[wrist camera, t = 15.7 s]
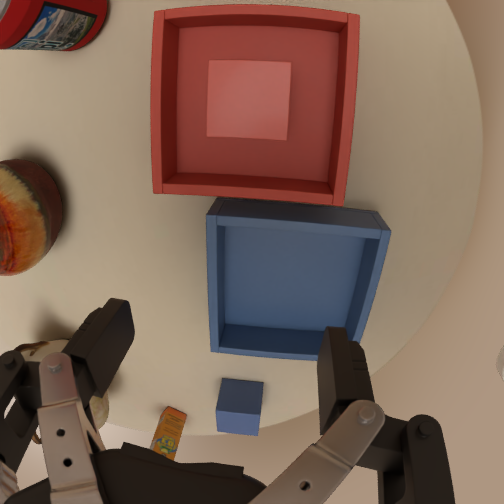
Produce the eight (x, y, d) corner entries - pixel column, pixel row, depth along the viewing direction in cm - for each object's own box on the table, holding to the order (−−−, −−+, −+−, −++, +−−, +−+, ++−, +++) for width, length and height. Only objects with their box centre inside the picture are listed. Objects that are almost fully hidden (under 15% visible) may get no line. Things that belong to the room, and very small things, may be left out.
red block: (290, 69, 20) (292, 61, 16) (286, 133, 23) (287, 141, 18) (222, 67, 21) (207, 59, 16) (220, 129, 23) (205, 137, 19)
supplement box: (188, 414, 41) (172, 471, 33) (180, 422, 43) (164, 476, 34) (168, 404, 41) (149, 461, 32) (160, 413, 42) (142, 467, 33)
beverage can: (53, 60, 21) (-45, 65, 10) (55, 0, 18) (-35, -15, 7) (111, 41, 20) (13, 27, 10) (113, -22, 17) (27, -61, 7)
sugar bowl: (142, 409, 43) (111, 490, 29) (68, 393, 44) (33, 459, 31) (95, 309, 34) (30, 405, 20) (17, 302, 35) (-43, 370, 22)
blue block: (263, 382, 36) (260, 415, 32) (260, 405, 39) (257, 436, 34) (222, 378, 37) (215, 410, 32) (223, 401, 39) (217, 431, 34)
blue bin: (377, 211, 25) (391, 230, 22) (347, 334, 32) (353, 362, 28) (216, 197, 26) (205, 214, 23) (218, 324, 33) (210, 351, 29)
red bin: (348, 27, 19) (360, 14, 15) (334, 190, 25) (343, 207, 21) (172, 22, 20) (153, 10, 16) (170, 179, 26) (152, 193, 22)
